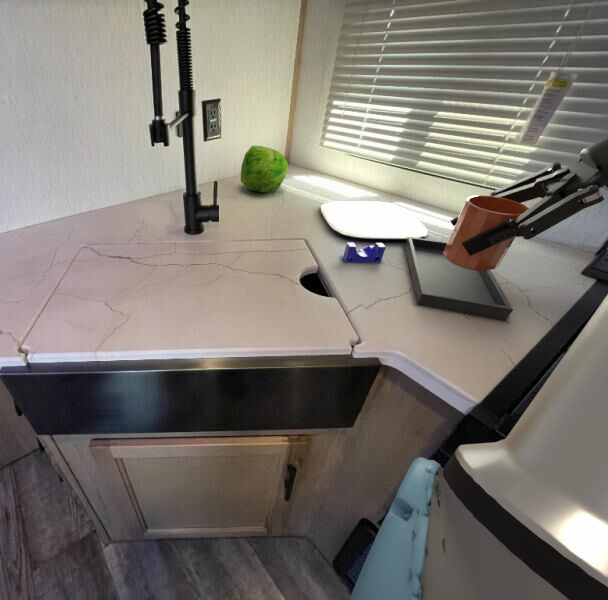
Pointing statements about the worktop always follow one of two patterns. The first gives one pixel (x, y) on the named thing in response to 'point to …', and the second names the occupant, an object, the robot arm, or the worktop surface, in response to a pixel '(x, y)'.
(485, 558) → the robot arm
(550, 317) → the worktop surface
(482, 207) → the terracotta plant pot
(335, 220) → the plate
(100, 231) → the worktop surface
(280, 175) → the lettuce
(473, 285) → the tray
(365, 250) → the cable holder
